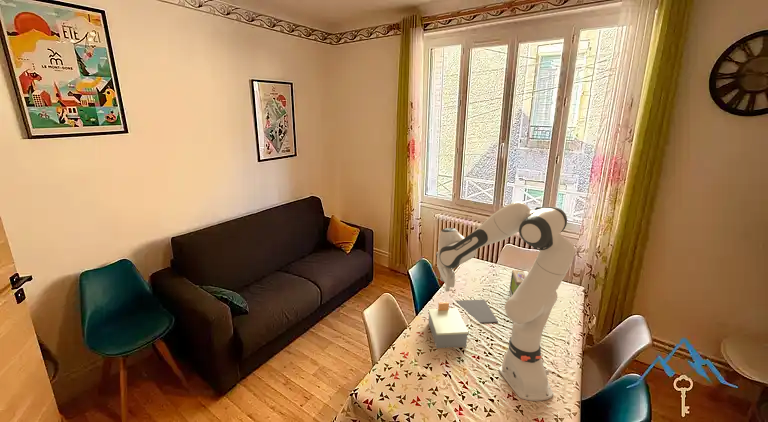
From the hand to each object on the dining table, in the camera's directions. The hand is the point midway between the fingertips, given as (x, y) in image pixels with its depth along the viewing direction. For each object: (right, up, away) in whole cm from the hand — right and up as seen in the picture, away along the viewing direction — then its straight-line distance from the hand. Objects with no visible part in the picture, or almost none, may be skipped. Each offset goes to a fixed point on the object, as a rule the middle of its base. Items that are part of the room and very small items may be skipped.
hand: (444, 285), depth 165 cm
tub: (+1, -24, -1) cm, 24 cm away
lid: (+1, -18, -3) cm, 18 cm away
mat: (+20, -18, +18) cm, 32 cm away
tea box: (+49, -14, +29) cm, 58 cm away
